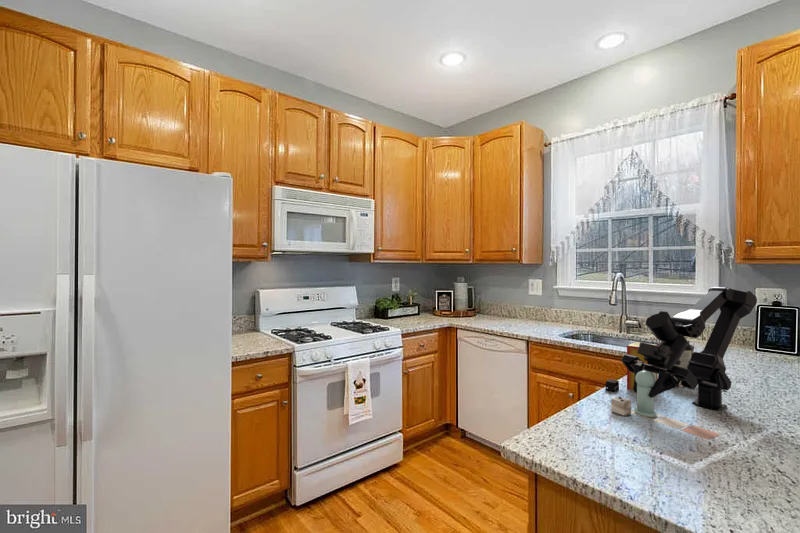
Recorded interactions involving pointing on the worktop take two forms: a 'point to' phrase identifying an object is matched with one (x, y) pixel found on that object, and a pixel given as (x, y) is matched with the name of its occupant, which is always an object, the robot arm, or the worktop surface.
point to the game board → (624, 409)
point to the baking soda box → (632, 351)
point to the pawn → (645, 394)
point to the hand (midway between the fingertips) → (641, 393)
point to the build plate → (612, 385)
